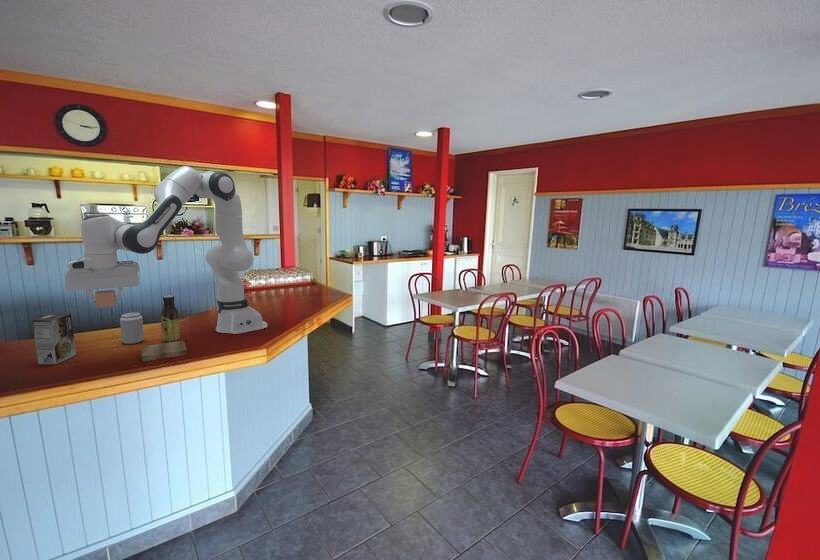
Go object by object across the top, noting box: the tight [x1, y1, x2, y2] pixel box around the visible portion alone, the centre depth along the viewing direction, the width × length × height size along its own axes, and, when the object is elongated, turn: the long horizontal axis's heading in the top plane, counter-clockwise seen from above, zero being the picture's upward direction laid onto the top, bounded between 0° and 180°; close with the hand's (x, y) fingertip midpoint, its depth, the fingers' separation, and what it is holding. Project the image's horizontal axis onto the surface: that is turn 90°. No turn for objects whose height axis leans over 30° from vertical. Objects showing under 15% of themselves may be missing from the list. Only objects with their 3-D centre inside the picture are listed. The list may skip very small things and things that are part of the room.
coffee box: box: [31, 312, 77, 365], centre depth 136 cm, size 9×6×16 cm
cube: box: [94, 289, 117, 309], centre depth 134 cm, size 5×5×5 cm
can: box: [119, 312, 145, 345], centre depth 157 cm, size 8×8×12 cm
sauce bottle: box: [160, 294, 180, 343], centre depth 157 cm, size 7×6×20 cm
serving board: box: [141, 340, 188, 363], centre depth 146 cm, size 14×13×2 cm
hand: (106, 300), depth 134 cm, fingers closed on cube, 5 cm apart
